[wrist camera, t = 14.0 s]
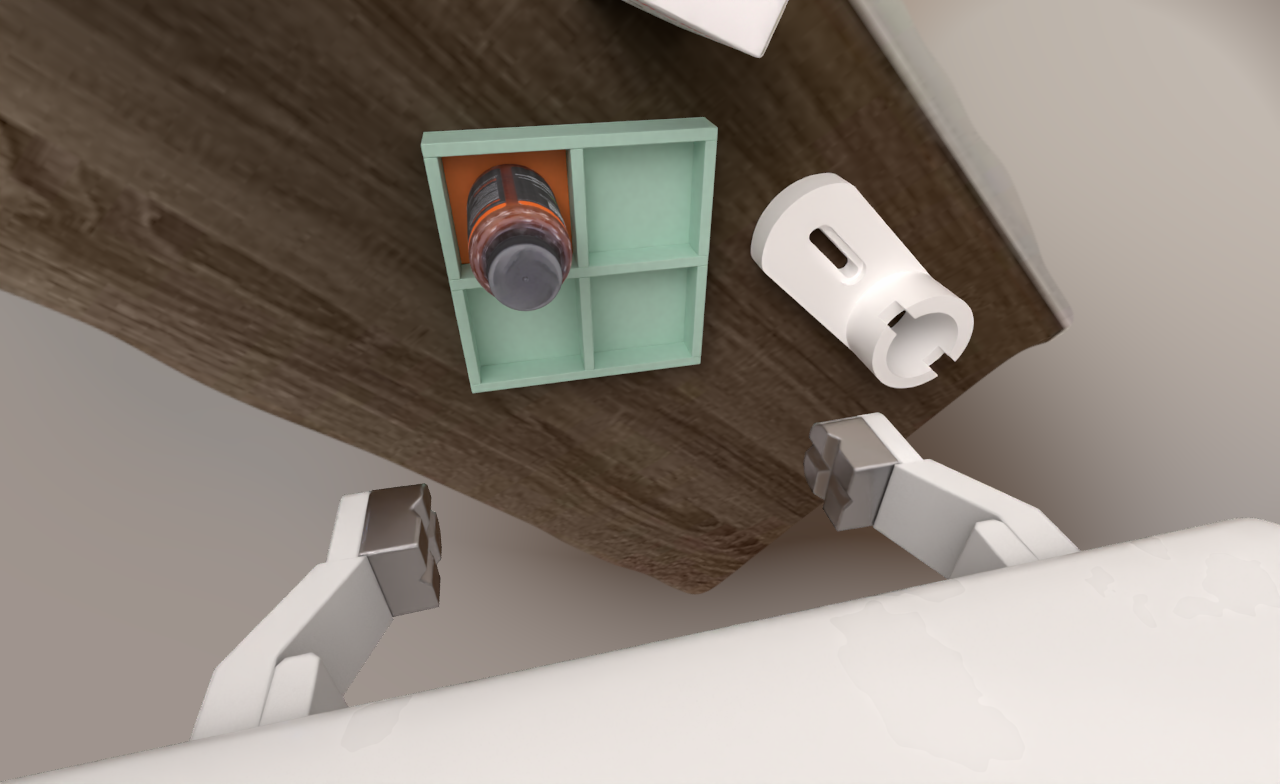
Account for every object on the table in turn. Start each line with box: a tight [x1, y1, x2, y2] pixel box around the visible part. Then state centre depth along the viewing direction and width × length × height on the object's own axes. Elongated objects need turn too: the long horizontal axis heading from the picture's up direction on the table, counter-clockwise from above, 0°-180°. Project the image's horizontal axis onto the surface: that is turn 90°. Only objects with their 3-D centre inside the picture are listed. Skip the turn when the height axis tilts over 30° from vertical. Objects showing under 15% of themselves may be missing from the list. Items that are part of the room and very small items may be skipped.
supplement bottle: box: [467, 164, 572, 311], centre depth 37 cm, size 6×6×11 cm
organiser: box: [421, 117, 718, 393], centre depth 44 cm, size 18×18×3 cm
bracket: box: [751, 173, 974, 388], centre depth 49 cm, size 20×9×7 cm, turn 47°
